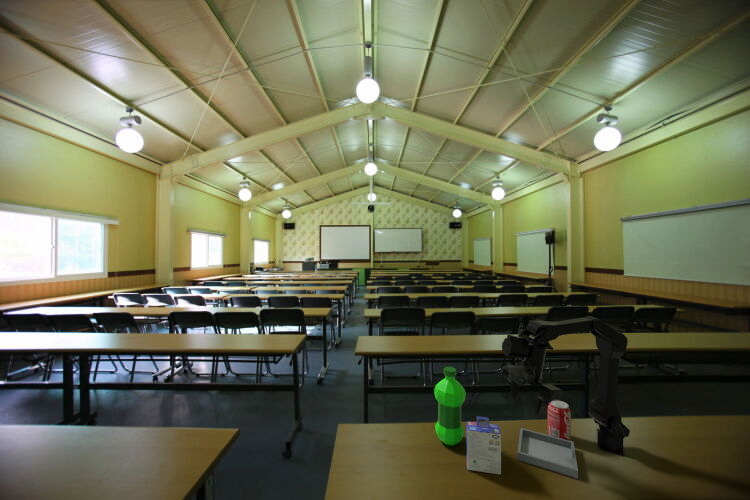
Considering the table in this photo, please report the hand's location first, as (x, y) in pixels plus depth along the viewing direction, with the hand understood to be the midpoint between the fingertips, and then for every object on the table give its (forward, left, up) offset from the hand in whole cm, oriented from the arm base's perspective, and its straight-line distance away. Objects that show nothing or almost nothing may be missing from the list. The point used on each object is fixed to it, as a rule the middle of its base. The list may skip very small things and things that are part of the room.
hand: (525, 406), depth 100 cm
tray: (-6, -2, -15) cm, 16 cm away
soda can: (-10, -14, -15) cm, 23 cm away
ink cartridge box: (+11, +14, -15) cm, 23 cm away
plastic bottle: (+23, +7, -15) cm, 29 cm away
